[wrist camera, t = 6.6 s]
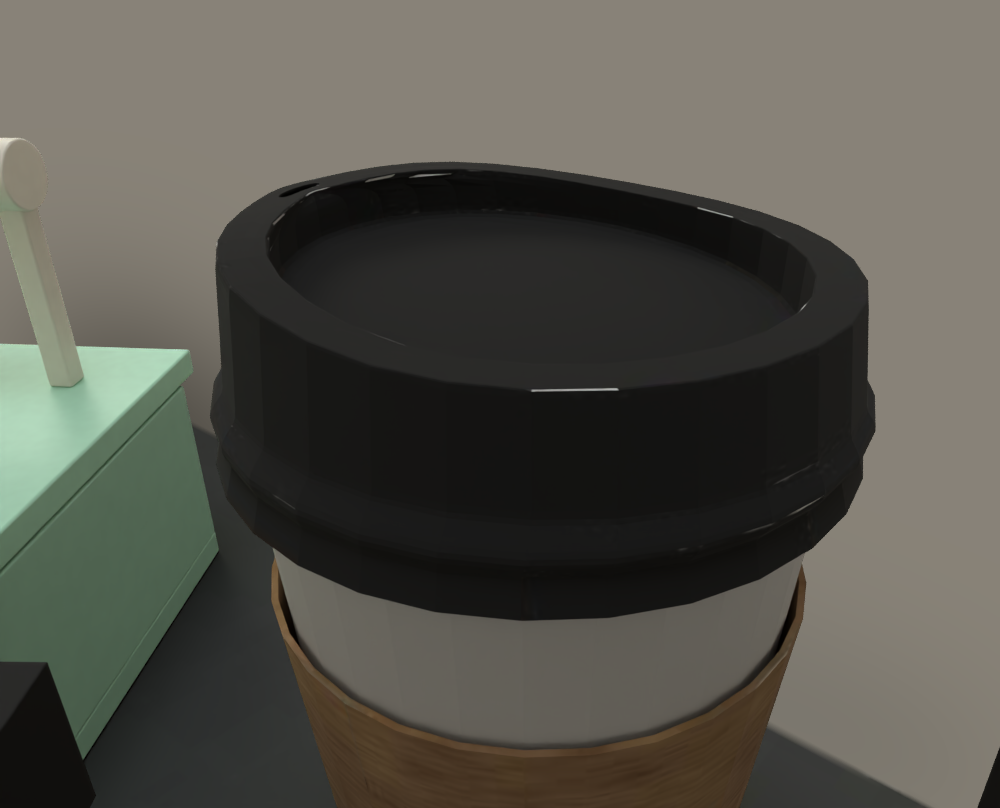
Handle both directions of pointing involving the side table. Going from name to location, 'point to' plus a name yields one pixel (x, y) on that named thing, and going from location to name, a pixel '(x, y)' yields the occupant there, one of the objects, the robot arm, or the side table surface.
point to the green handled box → (60, 375)
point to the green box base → (111, 570)
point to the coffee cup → (536, 473)
